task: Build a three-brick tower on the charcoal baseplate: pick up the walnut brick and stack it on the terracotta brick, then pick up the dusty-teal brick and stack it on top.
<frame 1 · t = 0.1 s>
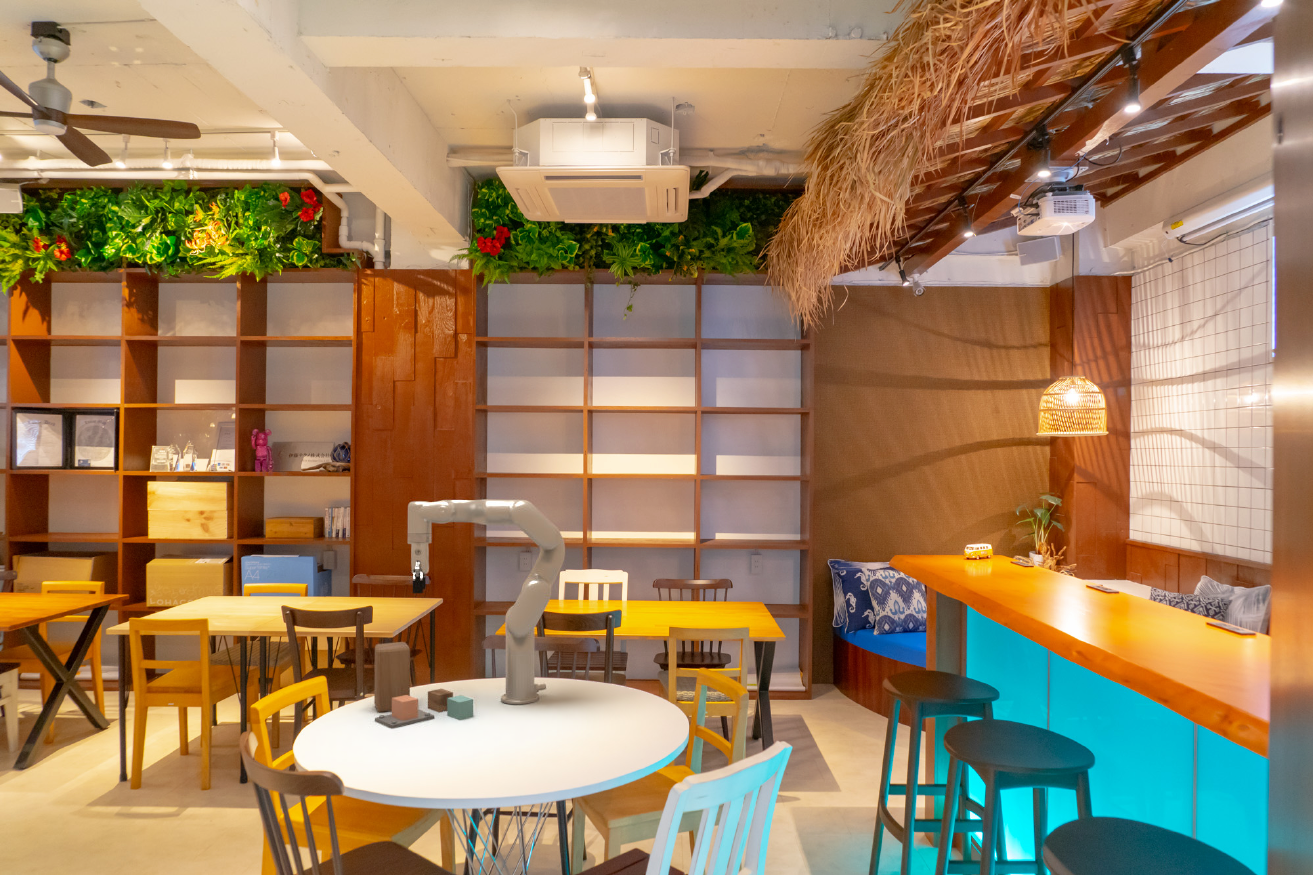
hand: (419, 591, 272), 37 cm above the table, tool pointing down, fingers open, 9 cm apart
baseplate: (404, 719, 254), on the table
teal brick: (460, 716, 257), on the table
walnut brick: (440, 709, 266), on the table
block: (391, 708, 268), on the table
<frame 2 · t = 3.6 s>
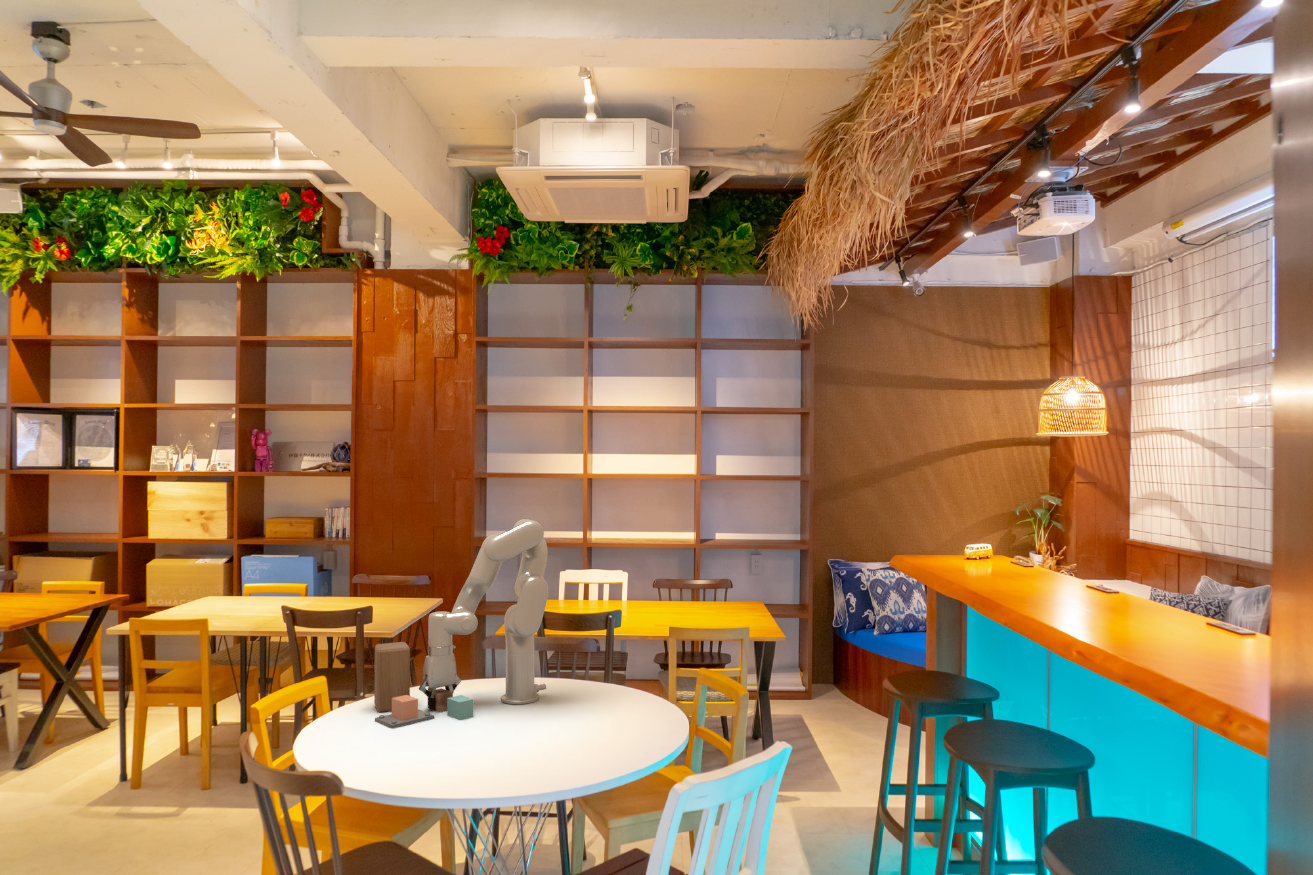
hand: (440, 707, 266), 0 cm above the table, tool pointing down, fingers closed on walnut brick, 4 cm apart
walnut brick: (440, 708, 266), on the table, touching gripper
everything else where it was.
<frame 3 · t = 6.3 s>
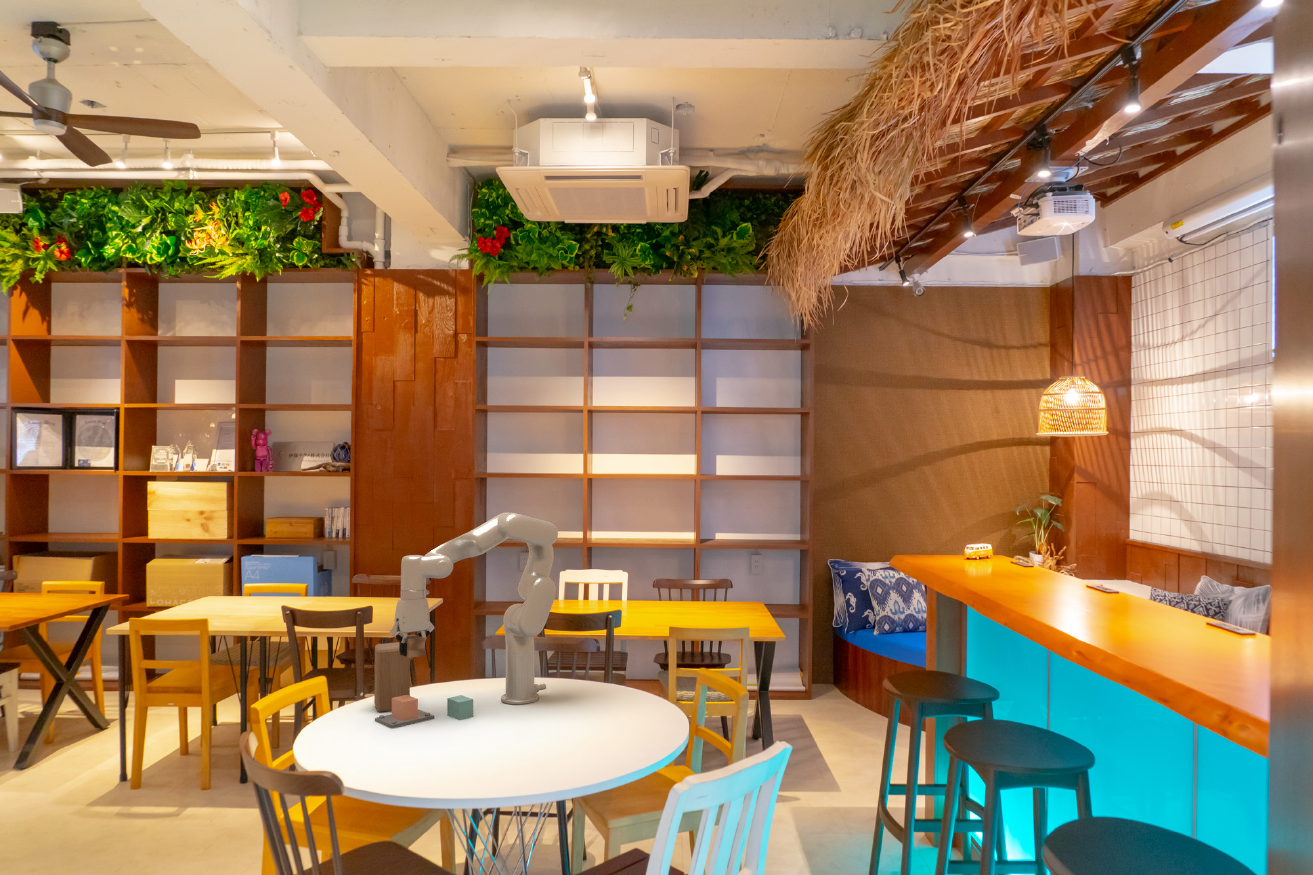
hand: (411, 653, 257), 20 cm above the table, tool pointing down, fingers closed on walnut brick, 4 cm apart
walnut brick: (411, 655, 257), point 19 cm above the table, touching gripper
everything else where it was.
when the fingers open (8 cm above the table, at t = 9.0 s): walnut brick drops 1 cm, resting on baseplate.
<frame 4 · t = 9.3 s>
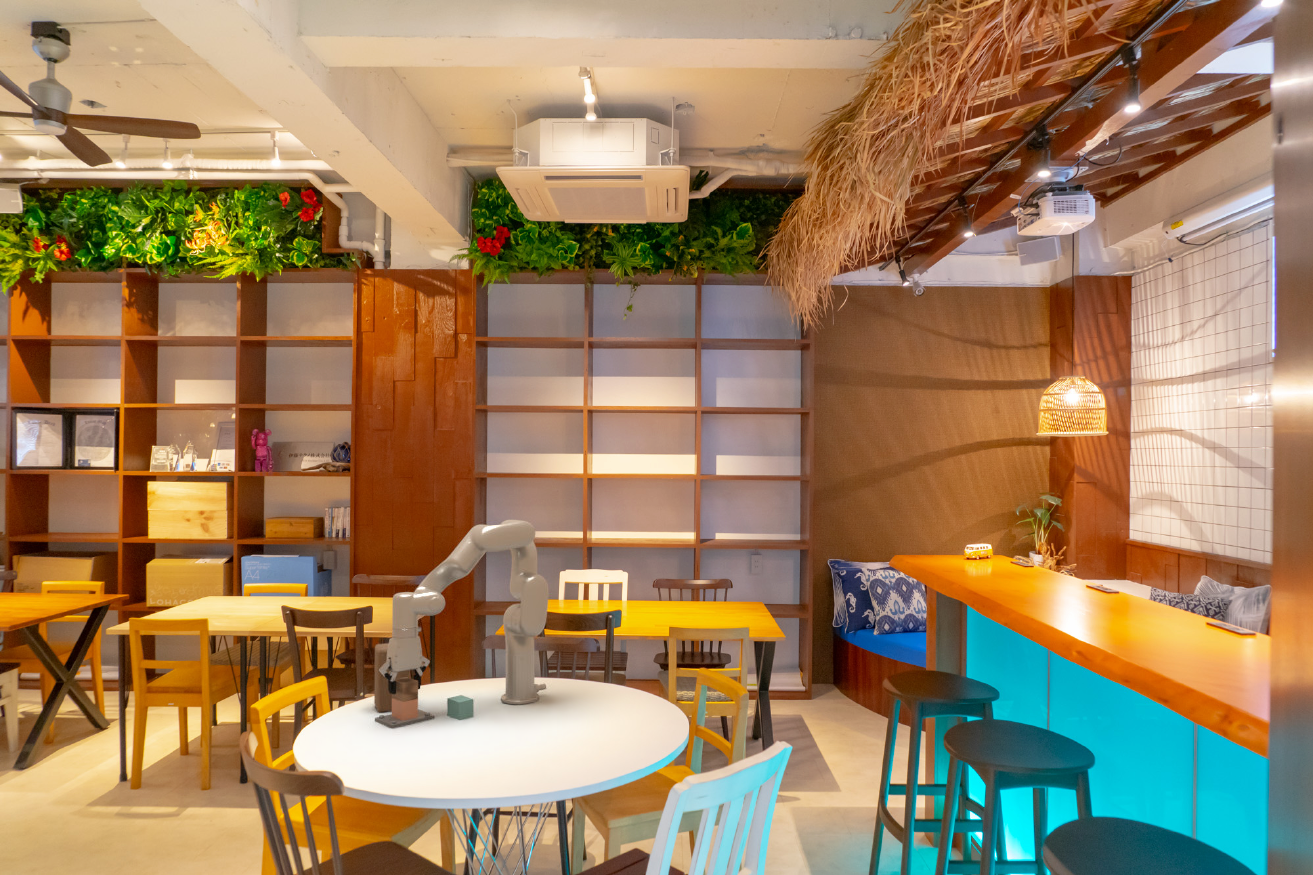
hand: (404, 690, 254), 9 cm above the table, tool pointing down, fingers open, 7 cm apart
walnut brick: (404, 698, 254), point 6 cm above the table, touching baseplate
everything else where it was.
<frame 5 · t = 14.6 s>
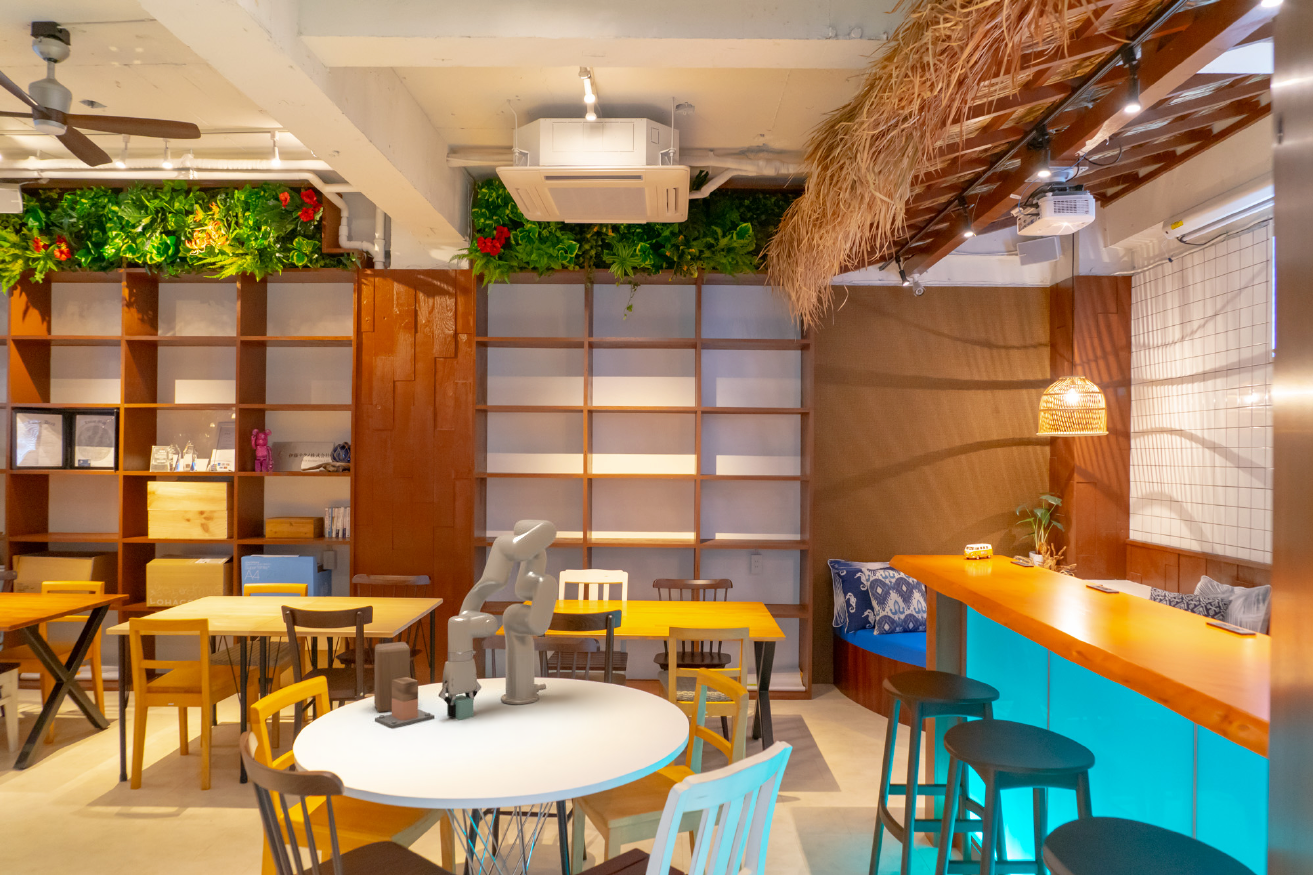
hand: (460, 714, 257), 0 cm above the table, tool pointing down, fingers closed on teal brick, 4 cm apart
teal brick: (460, 716, 257), on the table, touching gripper
everything else where it was.
when the fingers open (14 cm above the table, at t = 19.7 s): teal brick drops 1 cm, resting on walnut brick.
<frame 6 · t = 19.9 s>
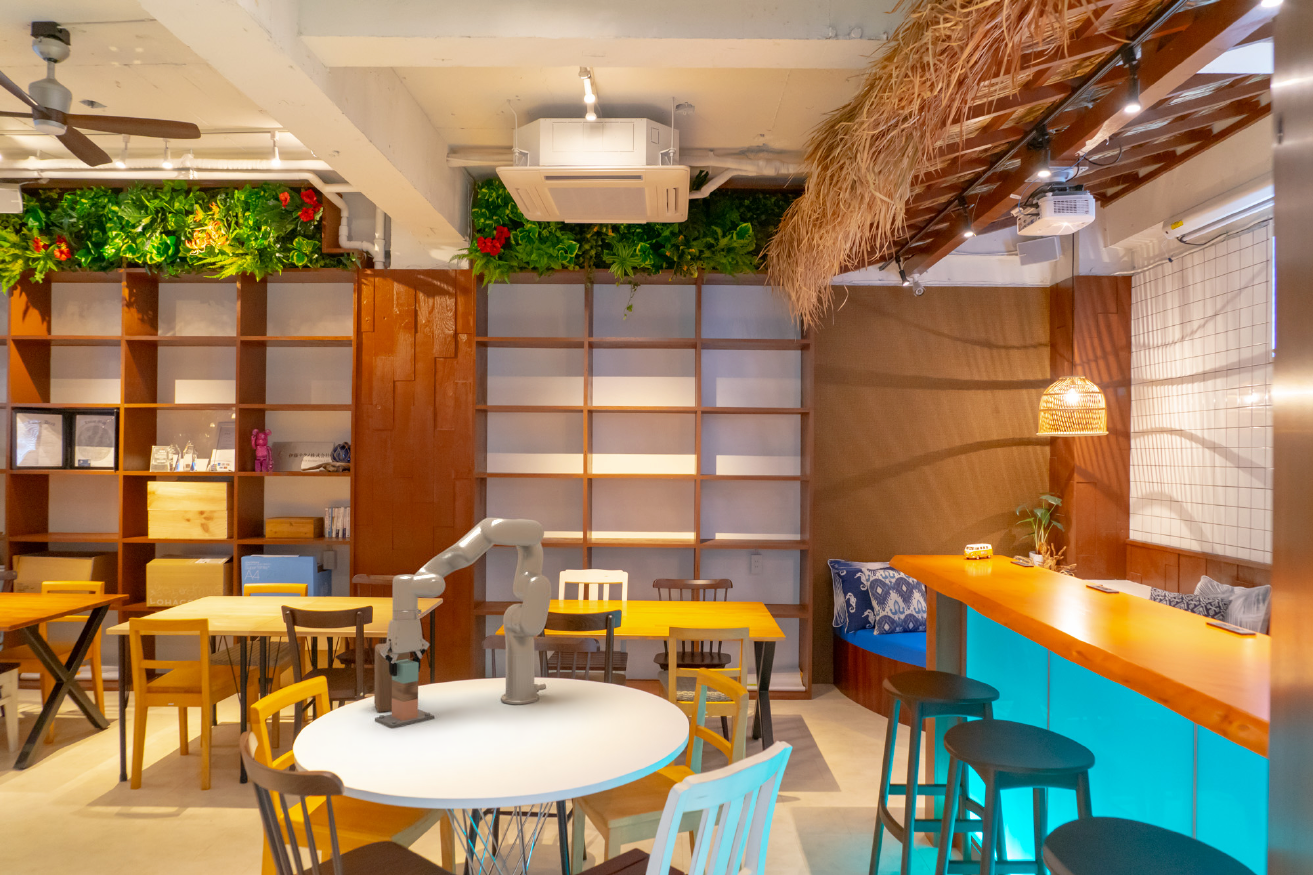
hand: (404, 672, 255), 14 cm above the table, tool pointing down, fingers open, 7 cm apart
teal brick: (405, 680, 255), point 12 cm above the table, touching walnut brick
walnut brick: (404, 698, 254), point 7 cm above the table, touching baseplate, teal brick
everything else where it was.
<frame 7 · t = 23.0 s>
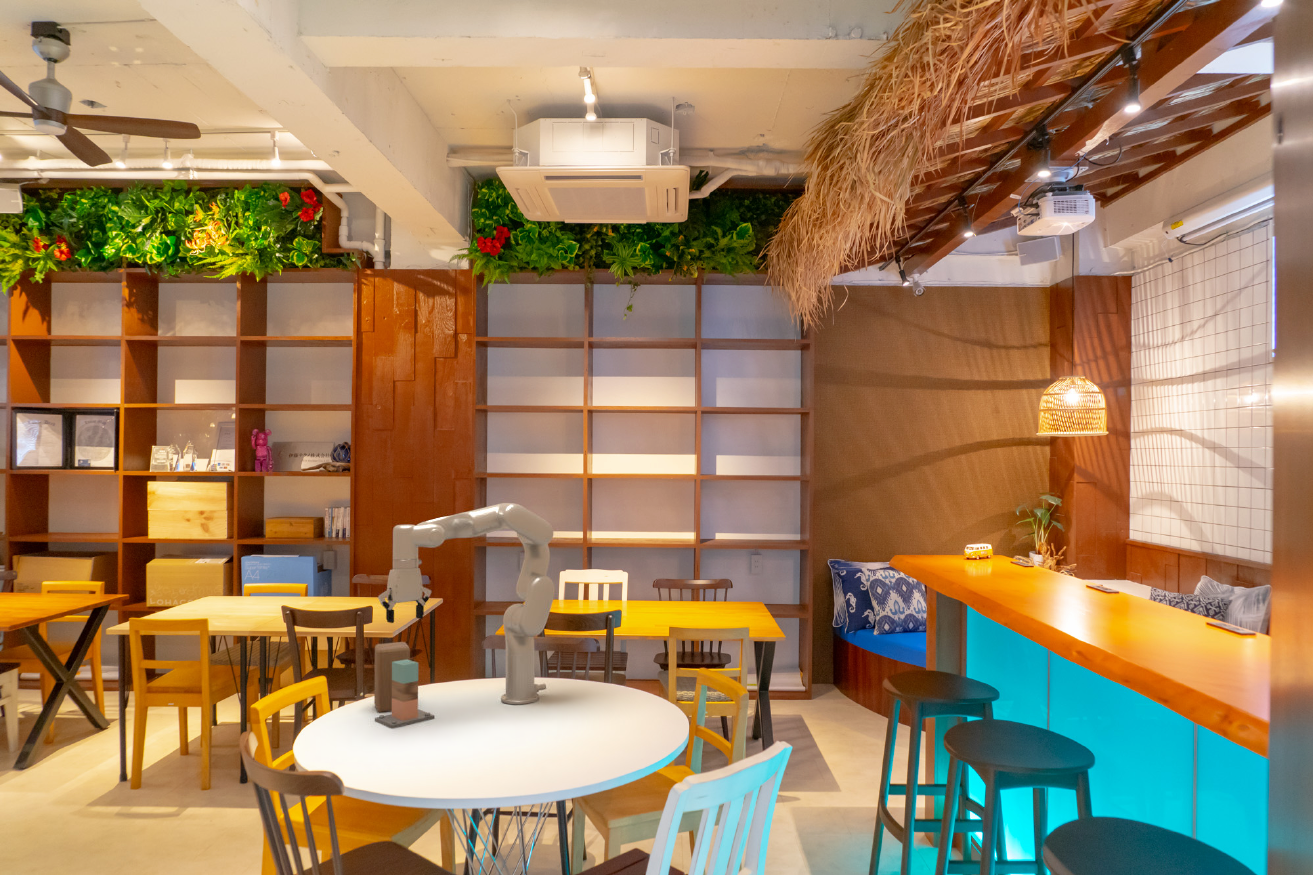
hand: (405, 620, 255), 30 cm above the table, tool pointing down, fingers open, 9 cm apart
nothing on the table moved.
at the end: walnut brick 0.0 cm off-centre on the baseplate, point 6.5 cm above the baseplate's base; teal brick 0.0 cm off-centre on the baseplate, point 12.0 cm above the baseplate's base; teal brick tilted 0° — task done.
